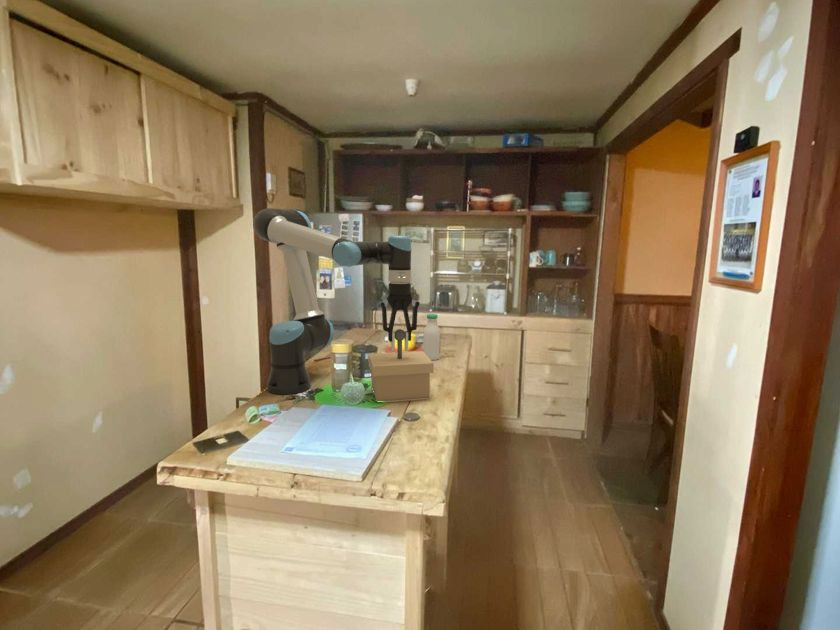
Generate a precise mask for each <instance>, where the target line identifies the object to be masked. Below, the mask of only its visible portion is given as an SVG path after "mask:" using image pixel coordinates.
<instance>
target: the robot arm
mask: <svg viewBox="0 0 840 630" xmlns="http://www.w3.org/2000/svg"><path fill="white" fill-rule="evenodd" d="M252 225H253V226H252V227H253V229H254V232H255V234H256V235H257V237H258V238H259V239H262V240H264V241H266V242H269V243H272V244H276V248H277V249H278V250H279V251H281V252H282V255H283V261H284V264H285V269H286V274H287V279H288V283H289V287H290V292H291V296H292V301H293V305H294V310H295V313H296V314H295V316H294V318H293V320H287V321H281V322H278V323H276V324H273V326H271V327H270V328H269V337H268V340H269V351H270V352H269V353H270V371H269V375H268V379H267V381H266V390H267V391H268V393H271V394H274V395H292V394H299V393H304V392H306V391H307V390H309V389H310V388H311V386H312V385H311V383H312V381H311V378H310V377H311V376H310V375H309V373H308V369H307V367H306V360H305V359H306V358H305V355H308V354H310V353H313V352H315V351H317V352H318V351H322V350H323V349H324V348H327V347H328V346H330V344H331V343H332V341H333V340H334V336H335V329H334V326H333V323H332V322H331V321H330V320H329V319H328V318H326V316H325V313H324V311H322V310H320V308H319V303H318V299H317V293H316V289H315V285H314V281H313V276H312V271H311V266H310V261H309V257H308V252H309V253H312V254H314V255H317V256H321V257H324V258H327V259H330V260H332V261H334V262H335V263H336V264H337V265H339V266H340V267H341V266H342V267H346V268H347V267H349V268H350V267H354V266H363V265H373V264H375V265H377V264H379V265H381V264H382V265H387V266H388V277H387V278H388V282H389V283H388V296H387V298H386V300H383V301H380V302H379V305H380V307H381V317H382V319H381V321H382V329H383V331H384V332H387V337H388V338H387V340H388V342H390V344H391V346H390V347H391V348H390V349H391V353H393V352H396V350H395V349H396V348H395V347H396V345H395V343H396V342H395V341H396V339H395V333H394V332H395V331H394V326H395V321H396V317H397V316H396V315H397V313H398V311H402V313H403V318H404V322H405V326H406V330H404V332H405V334H406V336H405V338H404V351H405V352H409V342H411V341H412V332H413V331H416V330H417V328H418V310H419V305H420V301H418V300H417V299H416V300H415V299H413V297H412V283H411V281H412V241H411V237H410V236H408V235H389V236H388V237H387V241H377V240H376V241H374V240H365V241H353V240H350V239H346V238H343V237H340V236H337V235H333V234H331V233H327V232H324V231H321V230H318V229H314V228H312V223H311V221H310V219H309V217H308V216H307V215H306V214H305V213H304V212H302V211H300V210H296V209H289V208H287V209H286V208H285V209H284V208H273V207H269V208H264V209H262V210H260V211H258V212H257V213H256V214H255V216H254V219H253V224H252ZM388 304H389V306H390V307H391V312H390V318H389V323H388V317H387V307H388ZM410 304H411V305H412V315H411V317H412V318H411V321H410V316H409V310H408V307H410V306H411V305H410Z"/></svg>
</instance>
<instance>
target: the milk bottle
mask: <svg viewBox="0 0 840 630" xmlns="http://www.w3.org/2000/svg"><path fill="white" fill-rule="evenodd" d="M426 320H427V323H426V325H425V327H424V329H423V335H422V336H423V337H422V338H423V340H422V351H423V352H424V353H425V354H426V355H427V356H428V357H429V359H430V360H431V361H437V359H438V360H440V358H441V329H440V326H439V325H438V314H436V313H429V314H427V315H426Z"/></svg>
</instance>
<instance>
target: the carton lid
mask: <svg viewBox="0 0 840 630" xmlns="http://www.w3.org/2000/svg"><path fill="white" fill-rule="evenodd" d="M394 333H395V341H397V344H396V345H397V347H396V348H397V350H396V351H397V352H396V351H395V352H375V353H368V354H367V356H368V357H367V363H368V365H369V366H368V367H369V368H370V371H371V375H372V374H373V376H388V375H405V374H422V373H430V374H434V362H433V360H430V359H429V357H428V356H427V355H426V354H425V353H424V352H423V350H418V351H417V350H416V351H415V350H414V351H413V350H412V351H403V340H404V341H405V336H406V334H405V330H403V329H401V328H400V329H396V330H395V331H394Z"/></svg>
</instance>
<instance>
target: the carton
mask: <svg viewBox="0 0 840 630" xmlns="http://www.w3.org/2000/svg"><path fill="white" fill-rule="evenodd" d="M430 374H431V373H422V374H405V375H388V376H373V374H372V373H371V389H372V388H373V391H374V394H375V397H374V399H375V398H376V400H375V402H376V401H385V402H384V403H394V402H396V403H397V402H407V401H409V402H410V401H420V400H422V401H423V400H430V395H431V394H430V392H431V391H430V388H431V387H430V383H431V382H430V381H431V379H430V378H431V375H430ZM373 391H372V392H373ZM374 394H373V395H374Z"/></svg>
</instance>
